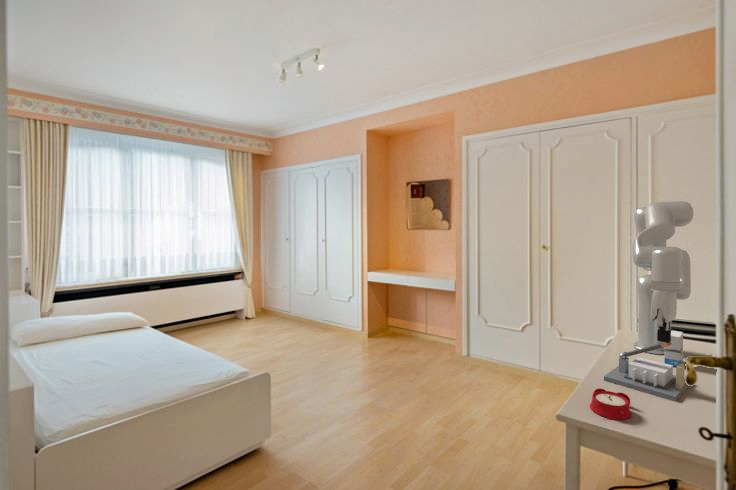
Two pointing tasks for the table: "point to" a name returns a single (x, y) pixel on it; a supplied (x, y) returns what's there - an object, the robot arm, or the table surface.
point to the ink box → (674, 349)
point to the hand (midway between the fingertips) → (663, 341)
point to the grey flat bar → (644, 350)
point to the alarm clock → (610, 404)
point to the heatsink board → (644, 387)
